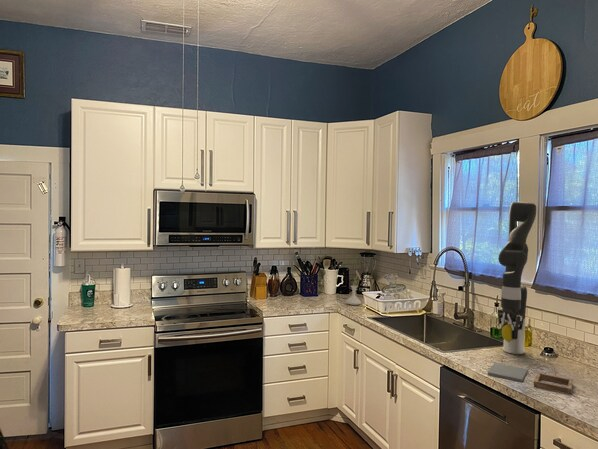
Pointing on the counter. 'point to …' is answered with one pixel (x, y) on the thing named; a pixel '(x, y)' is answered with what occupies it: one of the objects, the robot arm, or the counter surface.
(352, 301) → the flower in vase
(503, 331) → the lemon
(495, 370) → the grey rectangular plate
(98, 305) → the counter surface
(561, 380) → the walnut collar
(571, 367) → the counter surface
